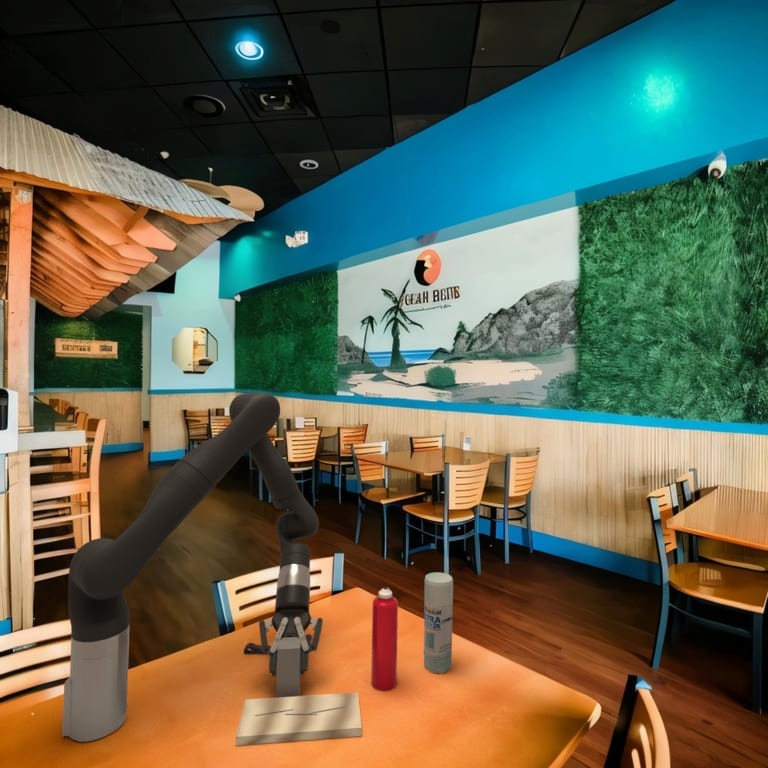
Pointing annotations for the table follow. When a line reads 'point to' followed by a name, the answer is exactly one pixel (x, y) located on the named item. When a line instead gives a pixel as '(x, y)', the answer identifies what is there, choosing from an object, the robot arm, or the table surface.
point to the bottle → (384, 641)
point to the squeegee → (258, 650)
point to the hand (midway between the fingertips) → (288, 674)
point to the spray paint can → (438, 622)
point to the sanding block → (288, 667)
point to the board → (299, 718)
